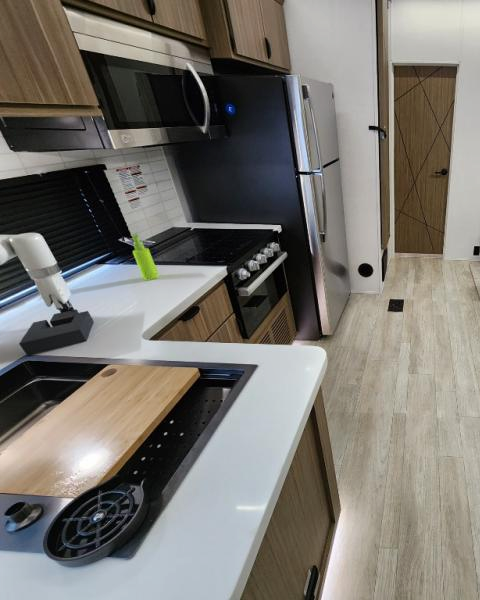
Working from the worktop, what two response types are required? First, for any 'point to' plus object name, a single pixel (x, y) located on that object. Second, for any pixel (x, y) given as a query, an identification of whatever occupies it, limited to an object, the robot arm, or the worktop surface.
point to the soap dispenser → (144, 260)
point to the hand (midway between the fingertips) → (71, 317)
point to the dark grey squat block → (63, 318)
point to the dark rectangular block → (56, 334)
